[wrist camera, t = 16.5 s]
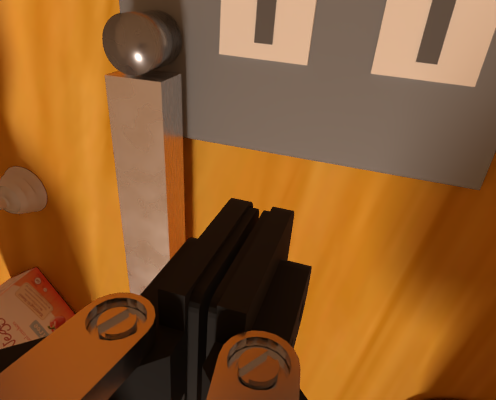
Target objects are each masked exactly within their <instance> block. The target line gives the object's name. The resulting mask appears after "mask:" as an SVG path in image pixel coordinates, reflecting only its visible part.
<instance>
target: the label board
mask: <svg viewBox="0 0 496 400" xmlns="http://www.w3.org/2000/svg"><path fill="white" fill-rule="evenodd" d="M119 4H120V13H125V12H136V11H146V10H160V11H163V12H165V13H167V14H168V15H170V16H171V17H172V18H173V19H174V20H175V22H176V23H177V25H178V27H179V29H180V32H181V36H182V47H181V51H180V54H179V56H178V57H177V59H176V60H175V61H174V62H172V63H171V64H169V65H166V66H163V67H160V68H158V69H155V70H157V71H165V72H173V73H181V87H182V127H183V137H185V138H191V139H197V140H202V141H208V142H213V143H219V144H225V145H230V146H236V147H241V148H247V149H252V150H258V151H264V152H269V153H275V154H280V155H286V156H291V157H297V158H303V159H308V160H314V161H319V162H325V163H331V164H336V165H342V166H347V167H353V168H358V169H364V170H370V171H375V172H381V173H386V174H392V175H398V176H403V177H409V178H414V179H420V180H425V181H431V182H437V183H442V184H448V185H453V186H459V187H465V188H470V189H476V190H480V188H481V186H482V183H483V181H484V179H485V176H486V174H487V171H488V169H489V166H490V164H491V162H492V159H493V157H494V154H495V152H496V0H119Z"/></svg>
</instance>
